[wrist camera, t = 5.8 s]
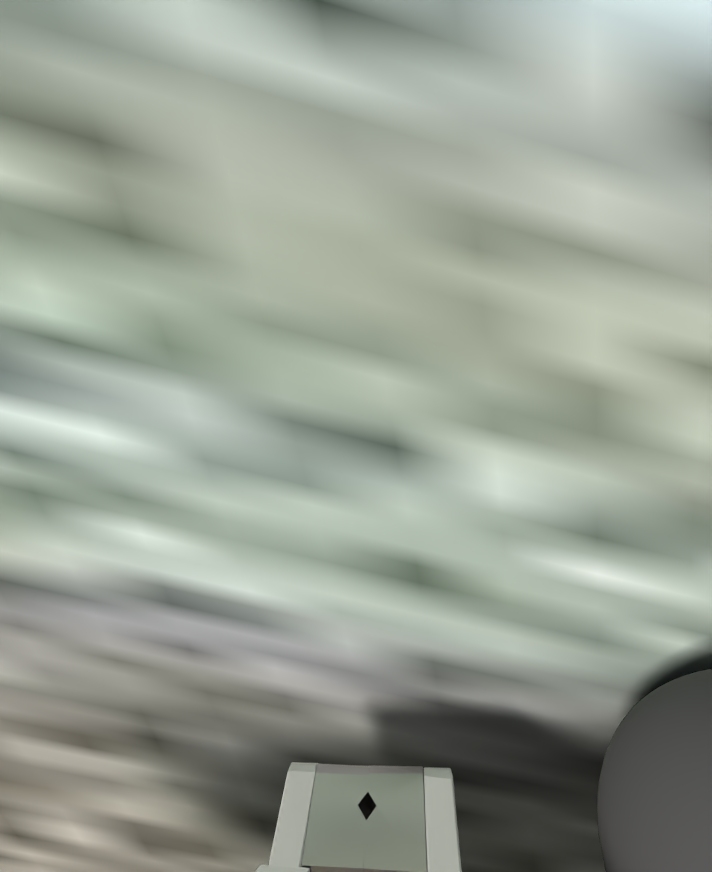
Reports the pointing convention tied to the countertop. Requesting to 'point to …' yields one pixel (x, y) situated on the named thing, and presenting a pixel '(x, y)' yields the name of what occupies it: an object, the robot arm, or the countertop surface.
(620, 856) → the dark gray ball
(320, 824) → the robot arm
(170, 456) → the countertop surface
